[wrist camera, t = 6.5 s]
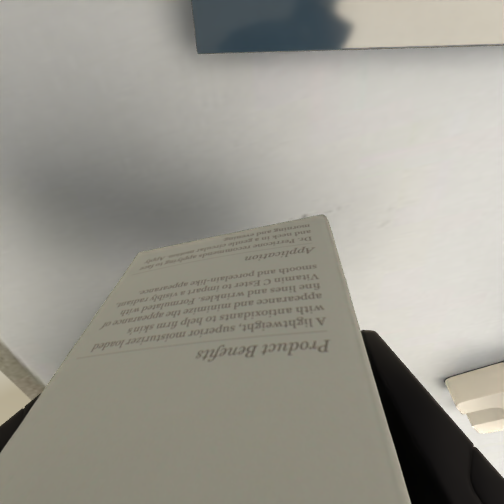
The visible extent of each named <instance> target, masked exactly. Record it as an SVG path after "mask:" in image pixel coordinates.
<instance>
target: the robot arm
mask: <svg viewBox="0 0 504 504" xmlns="http://www.w3.org/2000/svg"><path fill="white" fill-rule="evenodd" d="M361 335H362V338H363V342H364V345H365V349H366V352H367V356H368V359H369V362H370V366H371V369H372V373H373V376H374V380H375V383H376V387H377V390H378V393H379V397H380V400H381V404H382V407H383V410H384V414H385V417H386V420H387V423H388V427H389V430H390V433H391V437H392V440H393V443H394V446H395V450H396V453H397V457H398V460H399V463H400V467H401V470H402V474H403V477H404V481H405V484H406V488H407V491H408V495H409V498H410V501H411V504H504V478H503V477H502V476H501V475H500V474H499V473H498V471H497V470H496V469H495V468H494V467H493V466H492V465H491V464H490V462H489V461H488V460H487V459H486V458H485V457H484V456H483V454H482V453H481V452H480V451H479V450H478V449H477V448H476V447H473V443H472V442H471V441H470V440H469V438H468V437H467V436H466V435H465V434H464V433H463V432H462V430H461V429H460V428H459V427H458V426H457V425H456V423H455V422H454V421H453V420H452V419H451V418H450V417H449V415H448V414H447V413H446V412H445V411H444V410H443V408H442V407H441V406H440V405H439V404H438V403H437V402H436V400H435V399H434V398H433V397H432V396H431V395H430V393H429V392H428V391H427V390H426V389H425V388H424V387H423V385H422V384H421V383H420V382H419V381H418V380H417V378H416V377H415V376H414V375H413V374H412V373H411V372H410V370H409V369H408V368H407V367H406V366H405V365H404V363H403V362H402V361H401V360H400V359H399V358H398V357H397V355H396V354H395V353H394V352H393V351H392V350H391V348H390V347H389V346H388V345H387V344H386V343H385V342H384V340H383V339H382V338H381V337H380V336H379V335H378V333H377V332H375V331H371V330H362V331H361ZM40 395H41V394H39V395H38V396H37V397H36V398H34V399H33V400H32V401H31V402H30V403H28V404H27V405H26V406H25V408H24V409H21V410H20V411H18V412H17V413H16V414H15V415H14V416H12V417H11V418H10V419H9V420H8V421H6V422H5V423H4V424H2V425H1V426H0V453H1V451H2V450H3V448H4V447H5V446H6V444H7V443H8V441H9V440H10V438H11V437H12V435H13V434H14V433H15V431H16V430H17V429H18V427H19V426H20V424H21V423H22V422H23V420H24V418H25V417H26V415H27V414H28V412H29V411H30V409H31V408H32V406H33V405H34V403H35V402H36V401H37V399H38V398H39V396H40Z"/></svg>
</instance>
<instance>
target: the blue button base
mask: <svg viewBox="0 0 504 504" xmlns="http://www.w3.org/2000/svg"><path fill="white" fill-rule="evenodd" d="M191 2H192V11H193V20H194V29H195V38H196V47H197V53H198V54H218V53H254V52H290V51H326V50H362V49H398V48H434V47H470V46H504V0H191Z"/></svg>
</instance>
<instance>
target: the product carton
mask: <svg viewBox="0 0 504 504" xmlns="http://www.w3.org/2000/svg"><path fill="white" fill-rule="evenodd" d="M0 504H411V501H410V498H409V495H408V491H407V488H406V484H405V481H404V477H403V474H402V470H401V467H400V463H399V460H398V457H397V453H396V450H395V446H394V443H393V440H392V437H391V433H390V430H389V427H388V423H387V420H386V417H385V414H384V410H383V407H382V404H381V400H380V397H379V393H378V390H377V387H376V383H375V380H374V376H373V373H372V369H371V366H370V362H369V359H368V356H367V352H366V349H365V345H364V342H363V338H362V335H361V331H360V328H359V324H358V321H357V318H356V314H355V311H354V307H353V304H352V300H351V297H350V293H349V290H348V286H347V283H346V279H345V276H344V272H343V269H342V266H341V262H340V259H339V255H338V252H337V249H336V245H335V241H334V238H333V235H332V231H331V228H330V225H329V222H328V219H327V217H326V216H325V215H317V216H312V217H307V218H303V219H298V220H293V221H288V222H283V223H278V224H273V225H268V226H263V227H258V228H253V229H248V230H244V231H239V232H234V233H229V234H224V235H219V236H214V237H209V238H204V239H199V240H195V241H190V242H185V243H181V244H176V245H171V246H167V247H162V248H157V249H152V250H148V251H142V252H140V253H138V254H137V255H136V257H135V258H134V260H133V261H132V263H131V264H130V266H129V267H128V269H127V270H126V272H125V273H124V275H123V276H122V278H121V279H120V281H119V282H118V283H117V285H116V286H115V288H114V289H113V291H112V292H111V293H110V295H109V296H108V297H107V299H106V301H105V302H104V303H103V305H102V306H101V308H100V309H99V310H98V312H97V313H96V315H95V316H94V317H93V319H92V321H91V322H90V324H89V325H88V327H87V328H86V330H85V331H84V333H83V334H82V335H81V337H80V338H79V340H78V341H77V342H76V344H75V345H74V347H73V348H72V349H71V351H70V352H69V354H68V355H67V357H66V358H65V360H64V361H63V363H62V364H61V366H60V367H59V369H58V370H57V371H56V373H55V374H54V376H53V377H52V379H51V380H50V382H49V383H48V385H47V386H46V387H45V389H44V390H43V392H42V393H41V395H40V396H39V398H38V399H37V401H36V402H35V403H34V405H33V406H32V408H31V409H30V411H29V412H28V414H27V415H26V417H25V418H24V420H23V422H22V423H21V424H20V426H19V427H18V429H17V430H16V431H15V433H14V434H13V435H12V437H11V438H10V440H9V441H8V443H7V444H6V446H5V447H4V448H3V450H2V451H1V453H0Z"/></svg>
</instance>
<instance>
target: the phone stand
mask: <svg viewBox="0 0 504 504" xmlns="http://www.w3.org/2000/svg"><path fill="white" fill-rule="evenodd" d="M445 384H446V386H447V388H448V390H449V392H450V394H451V397H452V399H453V401H454V403H455V405H456V407H457V409H458V410H459V411H460V412H461V414H466V415H467V417H468V419H469V421H470V423H471V425H472V426H473V428H474V429H475V430H476V431H477V432H479V433H491V432H495V431H500V430H504V362H501V363H498V364H494V365H491V366H487V367H484V368H481V369H477V370H474V371H470V372H467V373H463V374H460V375H456V376H453V377H450V378H448V379H446V381H445Z"/></svg>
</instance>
